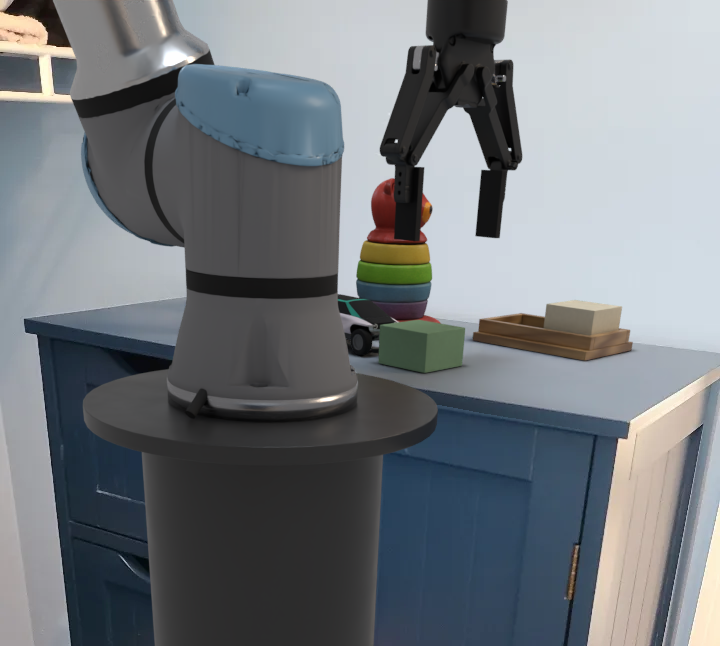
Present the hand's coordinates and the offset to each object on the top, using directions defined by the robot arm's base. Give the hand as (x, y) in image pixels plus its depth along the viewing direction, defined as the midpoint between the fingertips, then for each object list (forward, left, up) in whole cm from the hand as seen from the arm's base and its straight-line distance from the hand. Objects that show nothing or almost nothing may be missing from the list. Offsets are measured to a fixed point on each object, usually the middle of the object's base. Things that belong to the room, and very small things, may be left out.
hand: (448, 239), depth 98 cm
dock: (+20, -1, -13) cm, 24 cm away
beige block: (+21, -5, -11) cm, 24 cm away
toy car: (-1, +13, -13) cm, 18 cm away
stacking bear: (+10, +16, -13) cm, 23 cm away
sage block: (-3, +1, -13) cm, 13 cm away
